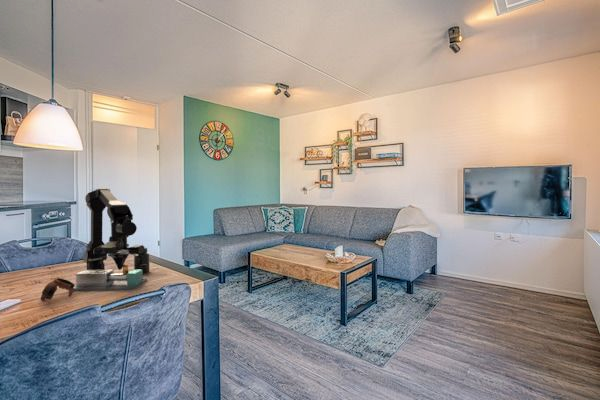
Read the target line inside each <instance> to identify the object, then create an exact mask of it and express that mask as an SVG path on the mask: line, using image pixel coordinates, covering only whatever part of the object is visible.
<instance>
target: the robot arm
mask: <svg viewBox="0 0 600 400" xmlns="http://www.w3.org/2000/svg"><path fill="white" fill-rule="evenodd" d="M84 198H85V200H84V201H85V203H86V207H88V209H89V210H90V241H89V242H88V244H87V245H86V250H85V251H84V254H83V256H82V259H83V261H82V262H83V263H86V270H106V269H105V262H104V261H107V259H108V257H111V258H112V260H114V263H115V265H116V266H117V267H116V268H117V269H118V271H121V270H123V265H125V262H126V260H127V259H128V256H129V255H136V254H139V253H142V252H144V251H145V248H146V247H145V246H144V245H143V244H134V245H132V246H129V245H130V244H129V243H128V238H129V237H130V236H133V235H134V234H135V233H136V232H137V224H135V222H133V220H134V218H133V216H134V214H133V213H132V210H131V209H130V206H128V204H127V203H126V202H125V201H119V200H118V199H117V198H116V196H115V195H114V194H113V193H112V192H111V189H110V188H108V187H107V188H105V187H104V188H103V187H102V188H101V187H100V188H95V190H92V191H90V192H88V193H86V195H85V197H84ZM106 208H107V209H106ZM105 209H106V213H107V216H108V217H109V220H110V221H109V222H110V232H111V236H109V238H108V242H105V243H104V242H103V212H104V210H105Z"/></svg>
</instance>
